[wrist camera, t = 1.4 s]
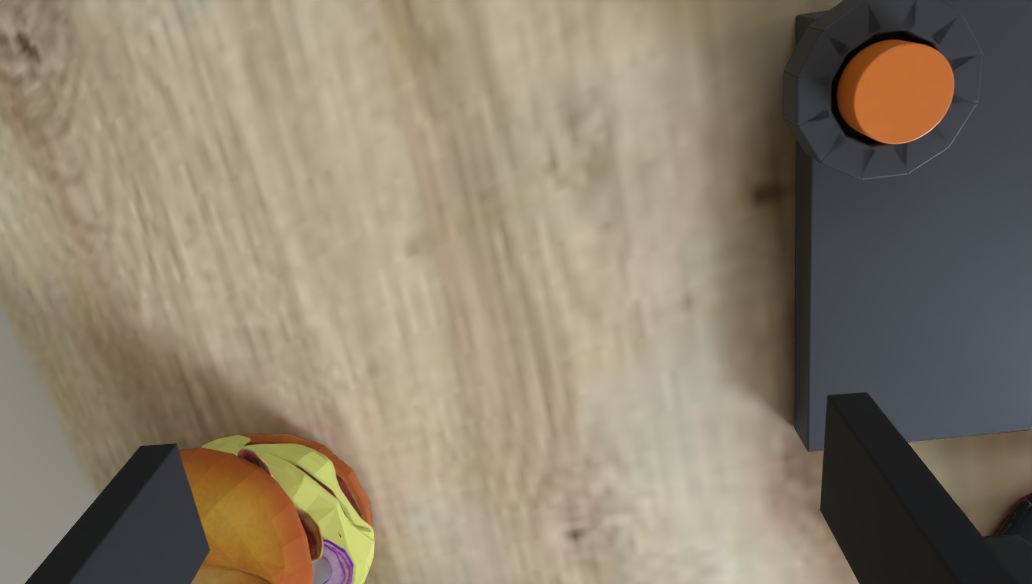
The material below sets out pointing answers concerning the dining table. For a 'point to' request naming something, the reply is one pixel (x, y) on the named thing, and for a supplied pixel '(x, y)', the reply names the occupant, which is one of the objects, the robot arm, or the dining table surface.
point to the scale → (916, 226)
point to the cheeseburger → (279, 512)
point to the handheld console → (1019, 520)
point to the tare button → (895, 91)
